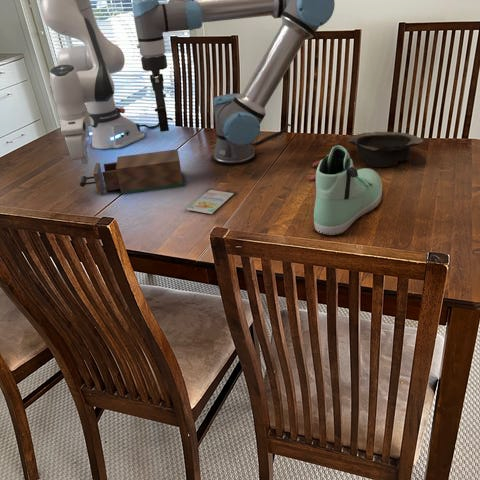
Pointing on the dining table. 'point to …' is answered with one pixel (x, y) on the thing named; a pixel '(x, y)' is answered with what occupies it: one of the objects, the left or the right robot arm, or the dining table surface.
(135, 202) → the dining table surface
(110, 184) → the drawer
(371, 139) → the stone bowl
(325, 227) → the sneaker
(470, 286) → the dining table surface
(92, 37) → the left robot arm
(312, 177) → the candy cane
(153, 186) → the cabinet
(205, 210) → the baking ingredient package
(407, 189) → the dining table surface
